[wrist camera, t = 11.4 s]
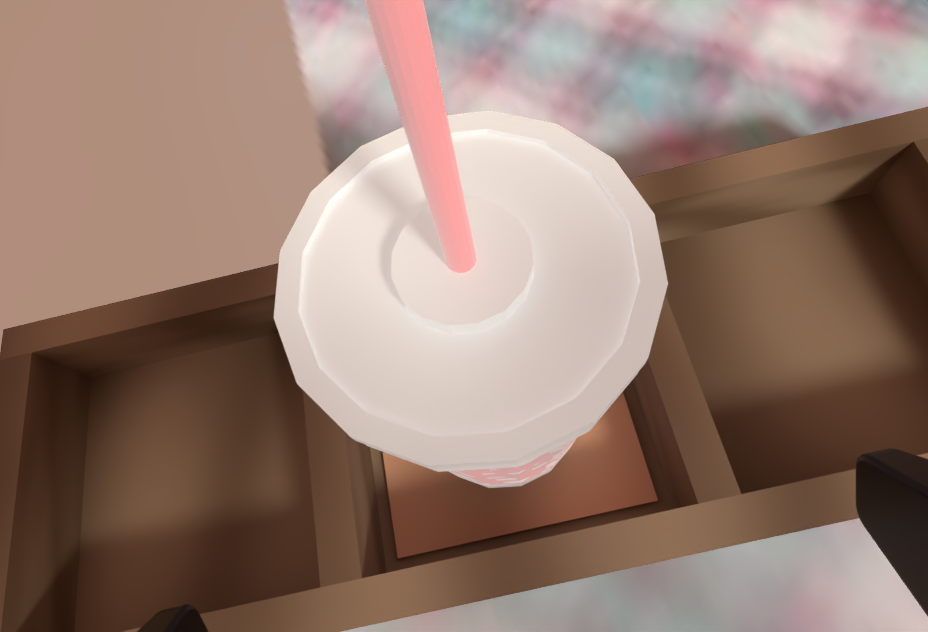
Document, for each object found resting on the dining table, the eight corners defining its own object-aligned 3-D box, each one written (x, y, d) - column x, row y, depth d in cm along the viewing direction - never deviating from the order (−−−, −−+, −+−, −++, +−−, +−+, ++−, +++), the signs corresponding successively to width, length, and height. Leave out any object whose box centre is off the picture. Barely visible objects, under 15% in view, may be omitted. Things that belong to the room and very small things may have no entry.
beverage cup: (478, 566, 16) (211, 562, 3) (359, 390, 18) (-78, -35, 5) (652, 426, 17) (1023, -38, 4) (517, 276, 19) (468, -325, 6)
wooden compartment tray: (858, 161, 20) (937, 58, 16) (1045, 473, 16) (1216, 440, 12) (86, 345, 21) (-22, 292, 17) (63, 688, 17) (-91, 726, 13)
